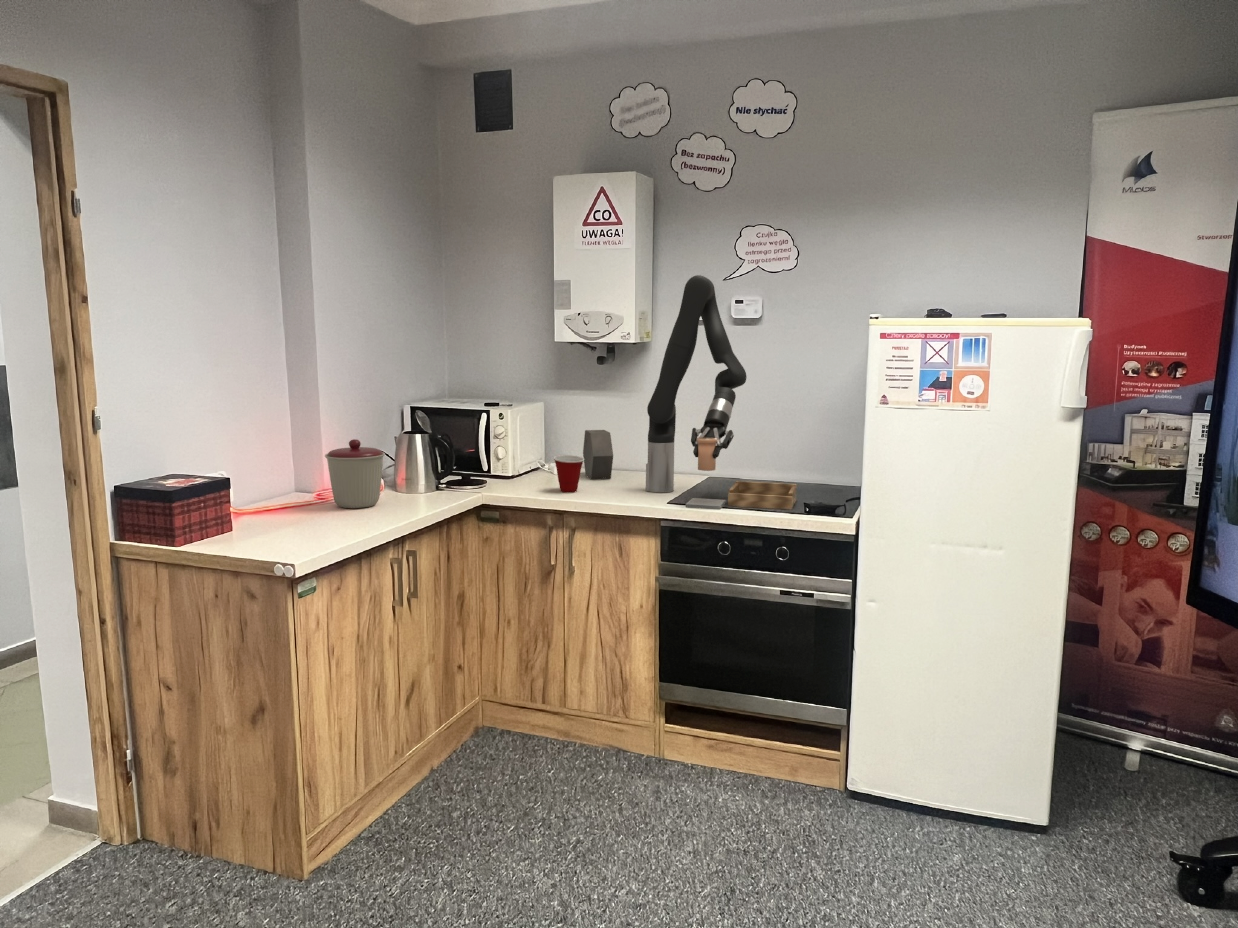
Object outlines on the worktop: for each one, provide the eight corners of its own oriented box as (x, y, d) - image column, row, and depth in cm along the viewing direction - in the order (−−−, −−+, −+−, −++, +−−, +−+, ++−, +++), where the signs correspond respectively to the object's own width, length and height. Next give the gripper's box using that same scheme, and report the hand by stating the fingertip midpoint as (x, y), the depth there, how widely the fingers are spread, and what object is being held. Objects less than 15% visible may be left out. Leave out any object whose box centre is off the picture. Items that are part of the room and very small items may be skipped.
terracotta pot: (694, 470, 276) (695, 438, 275) (698, 467, 282) (699, 436, 281) (714, 471, 274) (715, 439, 273) (718, 468, 280) (718, 437, 279)
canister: (396, 501, 282) (394, 437, 279) (368, 512, 265) (366, 443, 262) (346, 499, 286) (343, 435, 283) (315, 509, 269) (312, 441, 266)
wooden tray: (728, 505, 279) (728, 488, 278) (735, 497, 294) (736, 480, 293) (791, 509, 273) (792, 492, 273) (795, 500, 289) (796, 484, 288)
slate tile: (685, 507, 276) (685, 504, 276) (692, 500, 287) (692, 498, 287) (719, 509, 273) (720, 506, 273) (725, 502, 284) (725, 499, 284)
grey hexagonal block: (615, 469, 323) (608, 419, 331) (594, 469, 321) (588, 420, 329) (606, 487, 337) (600, 439, 346) (587, 488, 336) (581, 440, 344)
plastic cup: (566, 495, 296) (566, 460, 294) (547, 490, 304) (546, 456, 302) (591, 491, 303) (591, 457, 301) (571, 487, 311) (571, 454, 309)
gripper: (695, 407, 285) (680, 447, 276) (737, 409, 279) (723, 450, 270) (700, 422, 291) (686, 462, 282) (742, 424, 285) (729, 465, 276)
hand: (705, 456), depth 276 cm, fingers closed on terracotta pot, 5 cm apart
